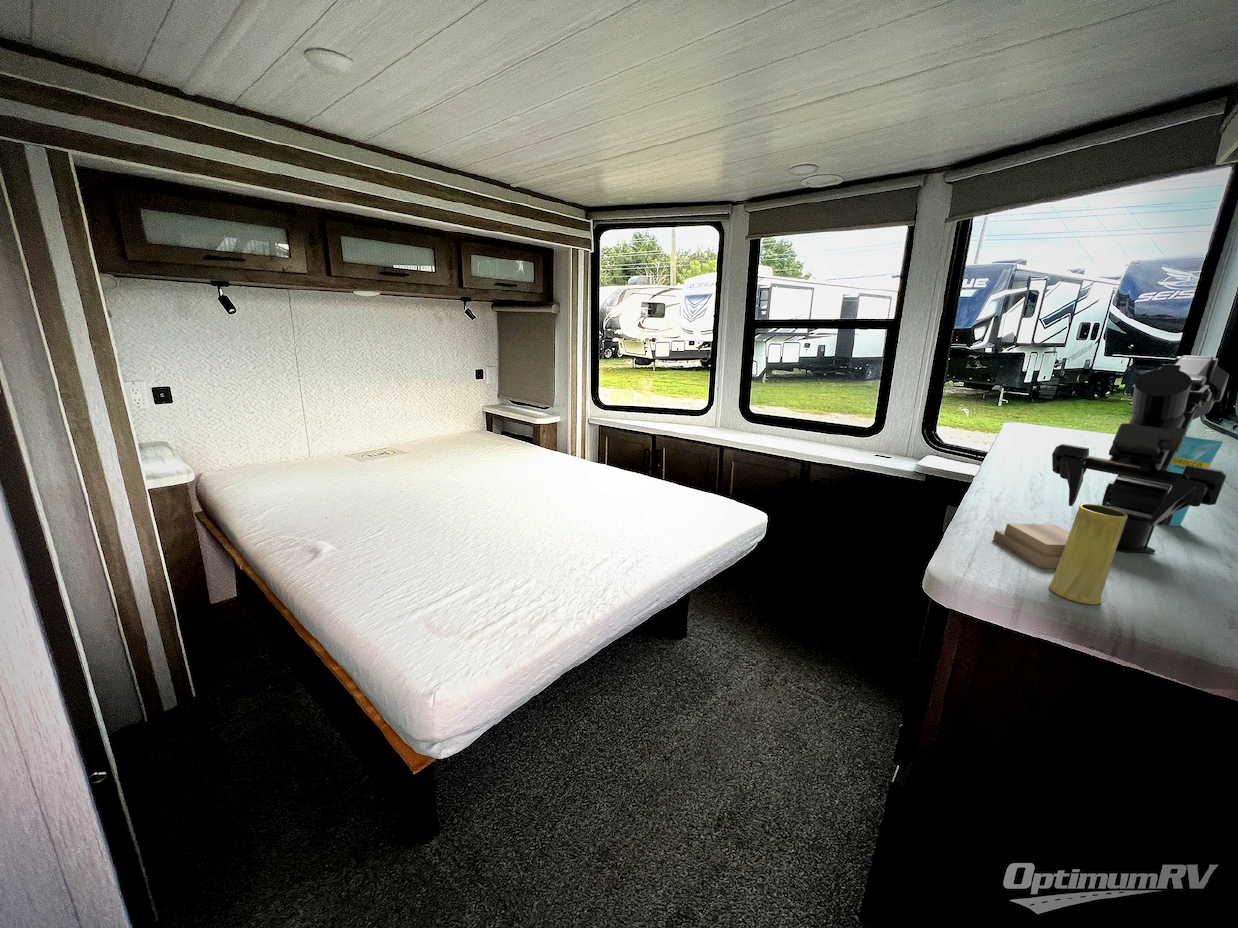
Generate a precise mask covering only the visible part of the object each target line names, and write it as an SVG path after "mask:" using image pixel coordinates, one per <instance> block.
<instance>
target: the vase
mask: <svg viewBox="0 0 1238 928" xmlns="http://www.w3.org/2000/svg"><path fill="white" fill-rule="evenodd" d="M1127 517H1128V515H1127V514H1126V513H1125V512H1123V511H1121V510H1118V509H1115V508H1111V507H1107V506H1102V504H1095V503H1080V504H1079V505H1078V508H1077V512H1076V515H1075V518H1074V519H1073V523H1072V526H1071V528H1070V531H1069V532H1070V534H1069V536H1068V539H1067V542H1066V545H1065V547H1064V550H1063V552H1062V555H1061V558H1060V561H1059V563H1058V566H1057V568H1055V572H1054V575H1053V577H1052V580H1051V581H1050V583H1049V584H1048V588H1049V590H1051V592H1053V593H1054V594H1055V595H1057V596H1059V597H1061V598H1063V599H1065V600H1069V601H1070V602H1071V601H1072V602H1074V603H1078V604H1085V605H1099V604H1101V602H1102V600H1103V599H1102V595H1103V592H1104V590H1105V589H1104V588H1105V585H1106V583H1107V582H1106V581H1107V579H1108V575H1109V571H1110V568H1111V565H1112V562H1113V560H1114V556H1115V553H1116V550H1117V549H1116V548H1117V545H1118V542H1119V539H1120V536H1121V534H1122V531H1123V527H1124V525H1125V522H1126V519H1127Z"/></svg>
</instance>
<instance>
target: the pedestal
mask: <svg viewBox="0 0 1238 928" xmlns="http://www.w3.org/2000/svg"><path fill="white" fill-rule="evenodd" d="M1069 534H1070V531H1069V530H1066V529H1064V528H1062V527H1060V526H1058V525H1057V524H1039V523H1038V524H1036V523H1035V524H1034V523H1012V522H1011V523H1009V522H1008V523H1006V527H1005V530H995V531H994V534H993V539H994V540H995V541H994V540H993V539H992V540H993V541H994V542H996V541H997V542H998V543H997V542H996V543H997V544H999V543H1000V544H999V545H1000V546H1002V545H1003V546H1002V547H1004V548H1006V549H1007V550H1008V551H1011V552H1012V553H1014V554H1016V555H1017V556H1019V557H1021V558H1022V559H1024V560H1025V561H1027V562H1029V563H1031V564H1032V565H1034V566H1035V567H1037V568H1040V569H1057V566H1058V563H1059V561H1060V558H1061V555H1062V552H1063V550H1064V547H1065V545H1066V542H1067V539H1068V536H1069Z"/></svg>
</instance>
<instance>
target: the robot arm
mask: <svg viewBox="0 0 1238 928" xmlns="http://www.w3.org/2000/svg"><path fill="white" fill-rule="evenodd" d="M1218 361H1219V358H1218V357H1217V358H1215V357H1214V356H1207V355H1206V356H1205V355H1204V356H1203V355H1185V354H1183V355H1182V356H1179V355H1178V356H1176V358H1175V360H1174V363H1173V364H1165V363H1163V364H1162V365H1161V366H1160V368H1157V369H1153V370H1150V371H1147V372H1144V373H1142V374H1140V375H1139V376H1138V377H1136V379H1135V380H1134V384H1133V385H1132V386H1131V392H1130V398H1131V399H1132V401H1131V412H1132V416H1131V418H1130V419H1129V422H1128V423H1124V422H1123V423H1121V424H1119V426H1118V429H1117V432H1116V434H1115V436H1114V439H1113V440H1112V445H1111V446H1110V448H1109V450H1108V451H1109V452H1108V455H1109V456H1110V458H1109V459H1106V458H1101V457H1095V456H1090V448H1089V447H1084V446H1079V445H1072V444H1067V443H1062V444H1059V445H1057V446H1055V448H1054V449H1053V452H1052V455H1051V457H1052V458H1051V460H1052V461H1051V462H1052V472H1054V473H1055V474H1056V475H1057V474H1058V475H1059V477H1060V478H1061V479H1063V480H1066V481H1067V485H1068V489H1069V490H1068V506H1069V507H1073V505H1074V504H1075V502H1076V501H1077V498H1078V496H1079V493H1080V490H1081V488H1082V485H1083V482H1084V475H1085V474H1086V471H1087V470H1092V471H1098V472H1103V473H1107V474H1113V475H1116V478H1115V480H1114V481H1111V480H1110V481H1109V482H1108V484H1107V486H1106V488H1105V492H1104V494H1103V499H1102V502H1101V505H1102V506H1107V507H1111V508H1115V509H1118V510H1121V511H1123V512H1125V513H1126V514H1127V515H1128V517H1127V519H1126V522H1125V525H1124V527H1123V531H1122V534H1121V536H1120V539H1119V542H1118V545H1117V548H1116V550H1118V551H1119V552H1125V553H1126V552H1127V553H1152V554H1153V553H1156V549H1155V548H1152V547H1150V546H1149V543H1150V540H1151V537H1152V535H1153V533H1154V529H1155V527H1156V525H1158V526H1164V525H1165V526H1170V523H1171V520H1172V518H1173V515H1174V512H1176V511H1179V510H1181V509H1183V508H1185V507H1187V506H1189V507H1200V506H1201V505H1206V506H1213V505H1216V504H1217V501H1218V499H1219V497H1220V495H1221V492H1222V490H1223V487H1224V484H1225V481H1226V479H1227V474H1226V473H1225V472H1224V471H1223V470H1221V469H1214V468H1210V467H1209V468H1203V467H1197V466H1191V465H1187V466H1186V467H1185V469H1184V471H1183V474H1180V473H1175V472H1170V471H1168V470H1169V468H1170V466H1171V464H1172V462H1173V460H1174V457H1175V455H1176V453H1177V452H1178V451H1179V450H1180V448H1181V446H1182V443H1183V441H1184V438H1185V436H1187V435H1186V434H1187V432H1188V430H1189V428H1190V426H1191V424H1192V422H1193V420H1195V419H1198V418H1200V417H1202V416H1204V415H1207V414H1209V413H1210V411H1211V409H1212V408H1213V406H1214V403H1215V402H1216V403H1217V402H1218V403H1220V402H1221V400H1222V397H1223V395H1224V393H1225V390H1226V387H1227V385H1228V384H1227V383H1228V382H1229V381H1228V380H1229V376H1230V374H1229V373H1228V372H1227V371H1225V370H1224V369H1223V368H1222V367H1220V366H1219V365H1218Z"/></svg>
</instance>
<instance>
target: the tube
mask: <svg viewBox="0 0 1238 928" xmlns="http://www.w3.org/2000/svg"><path fill="white" fill-rule="evenodd" d="M1223 443H1224V442H1223V441H1221V440H1216V439H1209V438H1201V437H1200V438H1199V437H1193V436H1187V435H1185V438H1184V441H1183V443H1182V446H1181V448H1180V450H1179V451H1178V452H1177V453H1176V455H1175V457H1174V460H1173V462H1172V464H1171V466H1170V468H1169V470H1168V471H1170V472H1175V473H1180V474H1183V471H1184V469H1185V467H1186V466H1187V465H1191V466H1197V467H1203V468H1209V469H1210V466H1211V463H1212V462H1213V460H1214V459H1215V457H1216V455H1217V453H1218V452H1219V450H1220V448H1221V447H1222V445H1223ZM1189 509H1190V506H1187V507H1185V508H1183V509H1181V510H1179V511H1176V512H1174V515H1173V518H1172V520H1171V523H1170V525H1169V526H1170V527H1171V526H1172V527H1179V526H1181V525H1182V523H1183V521H1184V518H1185V517H1186V515H1187V513H1188V510H1189Z"/></svg>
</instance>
